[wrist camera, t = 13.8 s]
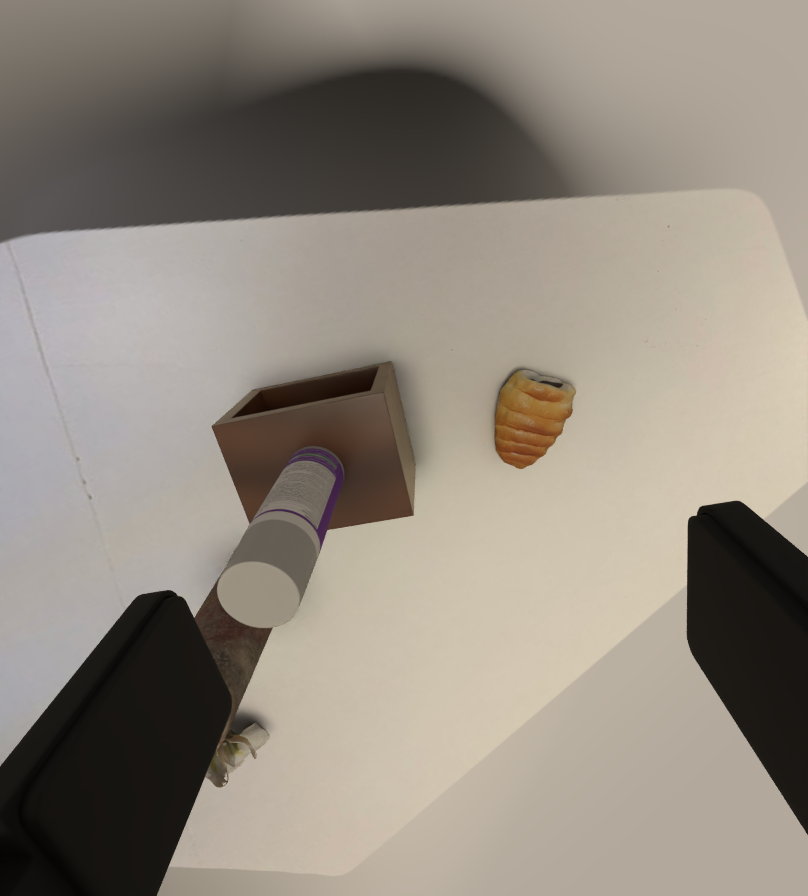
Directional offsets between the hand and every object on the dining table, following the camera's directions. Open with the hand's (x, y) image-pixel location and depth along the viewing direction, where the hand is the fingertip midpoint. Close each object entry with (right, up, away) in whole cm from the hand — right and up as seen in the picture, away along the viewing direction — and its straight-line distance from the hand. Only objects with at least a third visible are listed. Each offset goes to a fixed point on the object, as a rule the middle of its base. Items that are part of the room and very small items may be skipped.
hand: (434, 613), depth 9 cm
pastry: (+12, +7, +39) cm, 41 cm away
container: (-8, +1, +31) cm, 32 cm away
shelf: (-7, +5, +40) cm, 41 cm away
